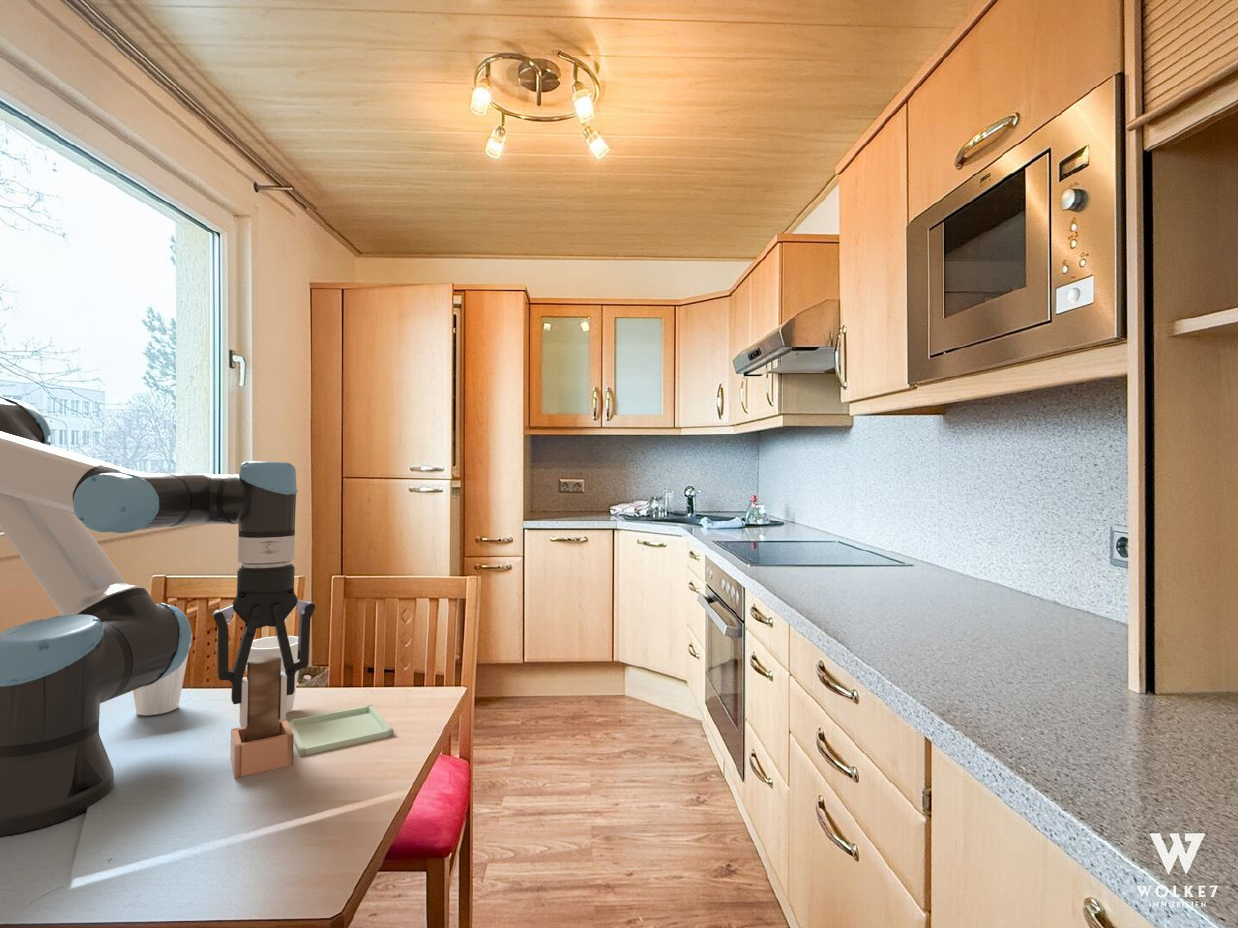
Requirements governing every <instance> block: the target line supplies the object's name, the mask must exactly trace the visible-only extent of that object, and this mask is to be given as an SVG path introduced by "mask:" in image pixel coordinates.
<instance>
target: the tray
mask: <svg viewBox="0 0 1238 928" xmlns="http://www.w3.org/2000/svg"><path fill="white" fill-rule="evenodd" d="M287 722H288V724H289V726H290V728H291V730H292V732H293V734H294V741H293V746H294V747H295V749H296V751H297V754H298V756H299V757H303V756H308V755H312V754H317V753H321V752H325V751H330V750H335V749H339V748H344V747H348V746H352V745H358V744H361V743H366V742H371V741H375V740H381V739H384V738H389V737H393V736H394V730H395V729H394V728H392V726H391V725H390V724H389V723H388V721H387V720H386V719H385V718H384V717H383V716H382V715H381V714H380V713H379V711H378V710H377V709H376V708H375V706H374V705H373V704H368V705H362V706H356V707H353V708H346V709H340V710H336V711H331V712H326V713H319V714H314V715H309V716H304V717H299V718H298V717H297V718H291V719H288V720H287Z"/></svg>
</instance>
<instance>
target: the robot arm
mask: <svg viewBox="0 0 1238 928" xmlns="http://www.w3.org/2000/svg"><path fill="white" fill-rule="evenodd" d="M51 435H52V433H51V429H50V425H49V424H48V422H47V420H46V419H45V417H44V416H43V414H41V413H40V411H38V410H37V409H36V408H34V407H33V406H32V405H30V404H28V403H27V402H24V401H21V400H17V399H14V398H12V399H11V398H8V397H5V396H1V395H0V529H1V531H2V533H3V534H4V535H5V537H6V538H7V539H8V541H9V542H10V544H11V546H12V547H13V548H14V549H15V551H16V553H18V555H19V557H20V558H21V560H22V561H23V562H24V563H25V565H26V566H27V568H28V570H29V571H30V572H31V574H32V575H33V577H34V578H35V579H36V581H37V582H38V583H39V584H40V586H41V588H42V589H43V590H44V592H45V593H46V595H47V596H48V598H49V599H50V601H51V603H52V604H53V605H54V606H55V608H56V610H57V611H58V612H59V613H60V615H58V616H52V617H49V618H46V619H42V618H41V619H36V620H32V621H28V622H25V623H21V624H18V625H14V626H13V627H10V628H8V629H5V630H2V631H1V632H0V836H7V835H8V836H9V835H13V834H19V833H23V832H24V833H26V832H29V831H32V830H37V829H42V828H44V827H47V826H51V825H54V824H57V823H60V822H63V821H66V820H68V819H70V818H74V817H75V816H77V815H80V814H82V813H85V812H86V811H88V808H89V807H91V806H93V805H94V804H97V803H98V802H100V801H101V800H102V799H104V798H105V797H106V796H108V795H109V794H110V792H111V791H112V790H113V788H114V782H115V781H114V780H115V772H114V768H113V765H112V763H111V761H110V758H109V756H108V752H107V749H106V748H105V746H104V743H103V740H102V739H101V736H100V714H101V712H100V710H101V709H100V708H101V704H103V703H105V702H108V701H110V700H113V699H114V698H117V697H120V696H123V695H124V694H128V693H130V692H133V690H135V689H138V688H140V687H143V686H148V685H151V684H153V683H155V682H157V681H158V680H160V679H161V678H163V677H165V676H168V675H169V674H171V673H173V672H174V671H175V670H176V669H178V668H179V667H180V665H181V664H182V663H183V662H184V660H185V659H186V657H187V655H188V656H189V653H190V649H189V646H190V643H191V644H192V642H191V641H192V640H193V632H192V627H191V623H190V621H189V619H188V616H187V615H186V614H185V613H184V611H182V610H181V609H180V608H179V607H177V606H175V605H173V604H172V605H171V604H167V603H165V602H158V603H157V602H155V600H154V599H153V598H152V596H151V595H150V594H149V592H148V591H147V589H146V588H145V587H144V586H141V585H134V584H129V583H127V582H126V581H125V579H124V578H123V576H122V574H121V573H120V572H119V570H118V569H117V568H116V566H115V565H114V563H113V562H112V561H111V559H110V558H109V556H108V555H107V553H106V552H105V551H104V549H103V548H102V547H101V545H100V544H99V543H98V541H97V540H96V538H95V537H94V535H93V534H92V533H91V531H94V532H99V533H116V534H126V533H133V532H136V531H144V530H146V531H147V530H153V529H162V528H170V527H184V526H195V525H204V524H205V525H206V524H207V525H209V524H210V525H219V524H222V525H223V524H224V525H226V524H227V525H228V524H229V525H237V526H238V527H237V529H238V537H237V540H238V541H237V562H238V563H239V564H241V566H239V568H238V569H237V573H236V574H237V577H236V579H237V580H236V596H235V598H234V600H233V602H232V605H230V606H229V605H228V606H227V607H225V608H222V609H215V610H214V611H212V616H213V619H214V622H215V625H216V627H217V669H216V670H217V671H216V672H217V676H218V677H217V678H218V680H220V681H228V682H231V702H232V704H233V705H239V726H240V727H241V728H243V727H247V710H248V680H247V676H244V674H245V670H246V664H247V660H248V657H249V653H250V649H251V646H252V642H253V640H254V638H255V636H256V632H257V630H258V629H262V628H264V627H269V628H270V627H271V628H274V630H275V634H276V635H275V636H277V639H278V643H279V647H280V652H281V656H282V660H283V664H284V668H285V672H281V677H280V721H281V720H286V719H287V713H286V697H287V695H292V694H293V693H294V688H295V673H296V672H297V671H298V670H299V671H300V670H302V669H306V668H308V667H309V662H310V661H309V659H310V639H311V638H310V637H311V635H310V634H311V619H312V617H313V614H314V612H315V609H316V605H315V604H314V602H313V601H311V600H306V601H305V600H301V599H298V596H297V595H296V593H295V572H296V571H295V565H294V564H293V563H291V562H293V561H294V560H295V559H296V558H295V557H296V555H295V554H296V553H295V552H296V551H295V550H296V507H297V506H296V505H297V494H298V489H297V474H296V473H297V472H296V471H297V470H296V467H295V465H293V463H290V462H286V461H285V462H284V461H244V462H242V463H241V465H240V467H239V471H238V473H237V474H236V473H234V474H222V473H221V474H219V473H218V474H217V473H216V474H215V473H195V472H194V473H193V472H191V473H188V472H183V473H154V472H153V473H149V472H148V473H147V472H142V471H141V472H139V471H136V470H133V469H129V468H126V467H122V466H118V465H115V464H113V463H109V462H105V461H103V460H99V459H96V458H92V457H90V456H89V457H88V456H85V455H81V454H78V453H75V452H71V451H67V450H65V449H62V448H58V447H56V446H55V447H54V446H51V443H52V441H51V440H49V437H50V436H51ZM90 530H91V531H90ZM295 607H296V613H297V614H298V615H299V617H298V634H297V635H298V636H297V637H298V656H297V660H295V661H293V657H292V653H291V648H290V644H289V640H288V636H289V635H288V631H287V626H286V621H285V620H286V619H287V618H288V617H289V615H290V614H291V612H292V611H293V610H294V609H295ZM234 613H236V614H237V616H238V617H239V618H240V619H241V620H242V621H243V622H244V627H243V631H242V632H243V633H242V635H241V639H240V643H239V647H238V650H237V654H236V658H235V662H234V665H233V669H229V625H228V624H229V623H231V622H232V620H233V615H234Z"/></svg>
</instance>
